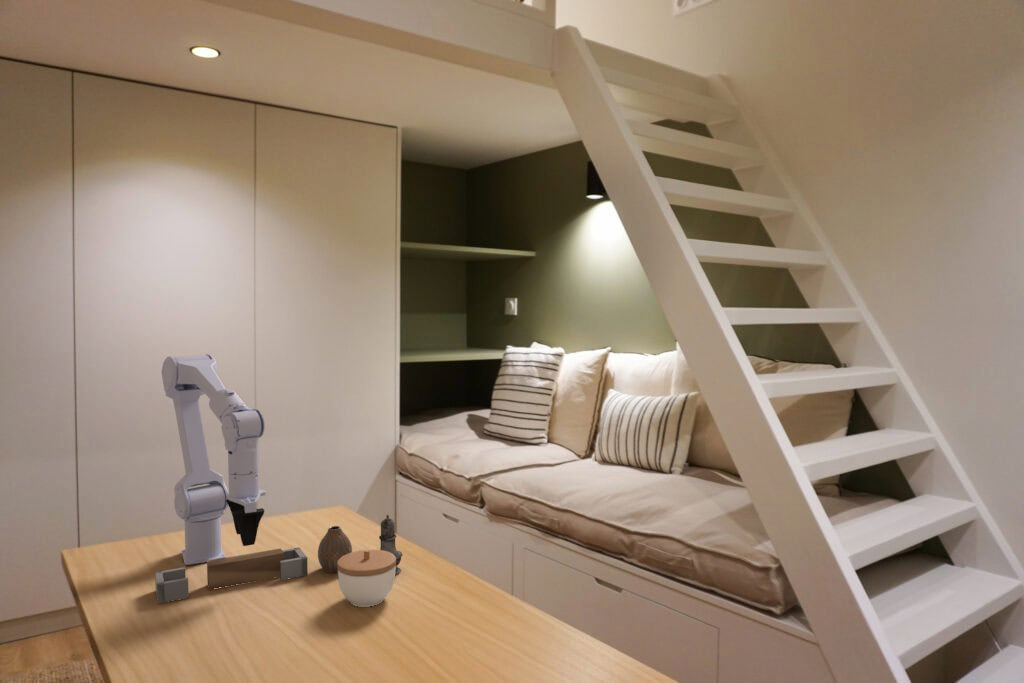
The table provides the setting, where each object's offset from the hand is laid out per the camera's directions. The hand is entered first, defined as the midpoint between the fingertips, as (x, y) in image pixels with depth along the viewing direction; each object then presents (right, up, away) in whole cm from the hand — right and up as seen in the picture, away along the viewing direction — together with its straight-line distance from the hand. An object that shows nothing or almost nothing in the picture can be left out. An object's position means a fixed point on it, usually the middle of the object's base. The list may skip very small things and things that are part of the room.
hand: (245, 538), depth 138 cm
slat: (0, -9, +1) cm, 9 cm away
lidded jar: (+26, -9, -9) cm, 29 cm away
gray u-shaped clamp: (-11, -9, -6) cm, 16 cm away
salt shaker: (+28, -8, +5) cm, 29 cm away
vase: (+16, -8, +6) cm, 19 cm away
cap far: (+7, -8, +5) cm, 12 cm away
